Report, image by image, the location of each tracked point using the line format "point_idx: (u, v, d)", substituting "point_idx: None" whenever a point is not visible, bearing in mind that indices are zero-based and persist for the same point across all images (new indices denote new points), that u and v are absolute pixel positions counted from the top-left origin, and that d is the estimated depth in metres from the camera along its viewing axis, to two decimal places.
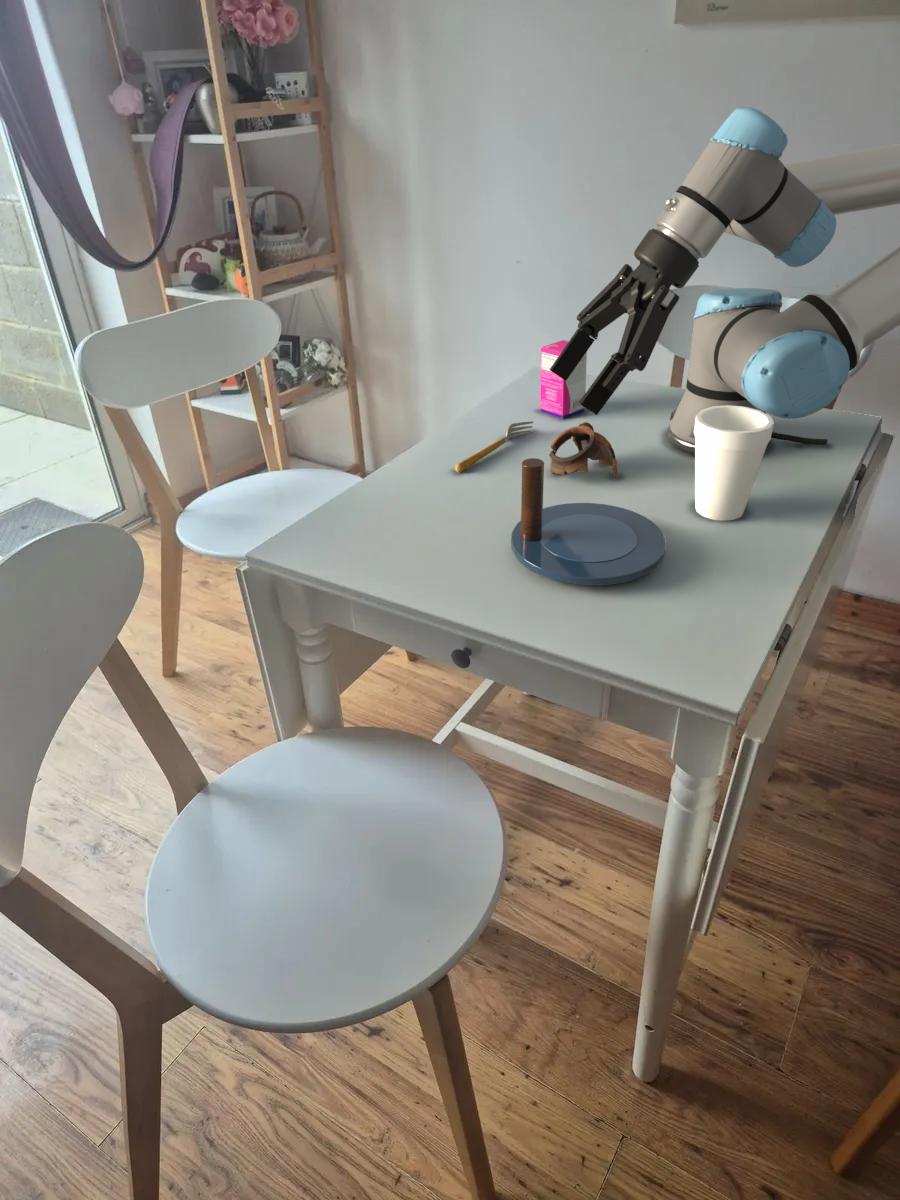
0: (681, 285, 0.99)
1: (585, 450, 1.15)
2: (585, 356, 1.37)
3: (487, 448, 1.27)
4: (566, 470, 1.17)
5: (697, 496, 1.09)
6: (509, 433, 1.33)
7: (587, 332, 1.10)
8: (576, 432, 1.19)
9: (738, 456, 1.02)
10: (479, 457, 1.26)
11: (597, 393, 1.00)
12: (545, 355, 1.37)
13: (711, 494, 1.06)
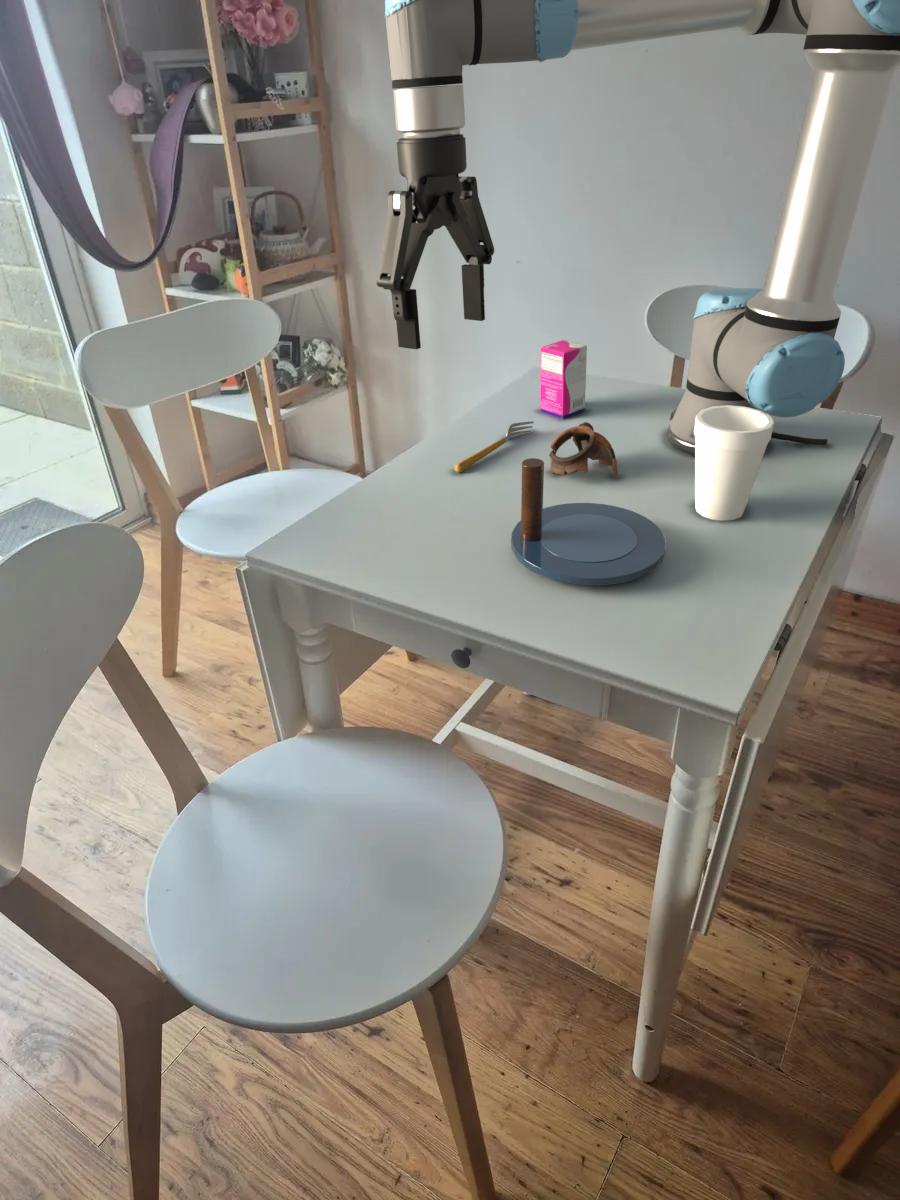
0: (435, 173, 0.87)
1: (585, 450, 1.15)
2: (585, 356, 1.37)
3: (487, 448, 1.27)
4: (566, 470, 1.17)
5: (697, 496, 1.09)
6: (509, 433, 1.33)
7: (474, 262, 1.01)
8: (576, 432, 1.19)
9: (738, 456, 1.02)
10: (479, 457, 1.26)
11: (403, 328, 0.94)
12: (545, 355, 1.37)
13: (711, 494, 1.06)
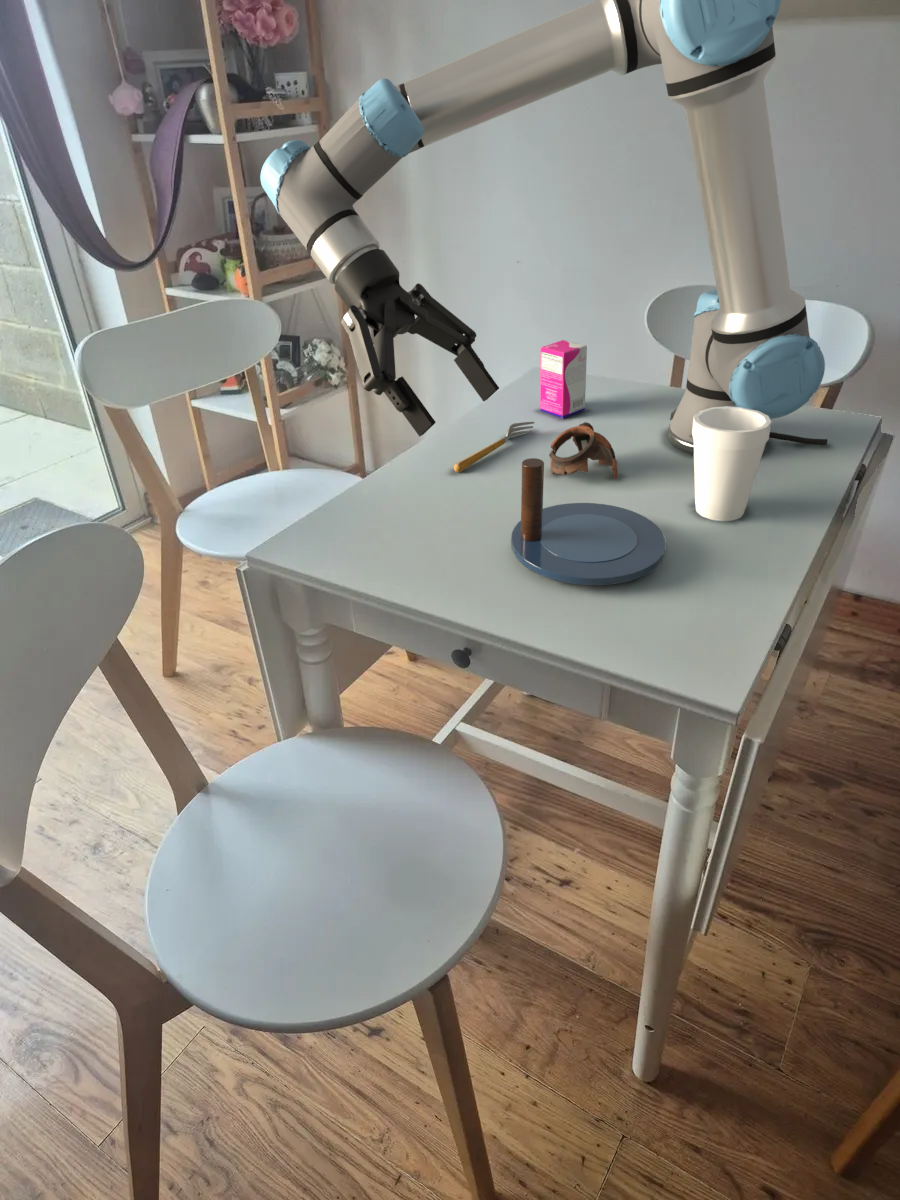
0: (369, 282, 0.94)
1: (585, 450, 1.15)
2: (585, 356, 1.37)
3: (487, 448, 1.27)
4: (566, 470, 1.17)
5: (696, 497, 1.09)
6: (510, 433, 1.33)
7: (462, 350, 1.03)
8: (576, 432, 1.19)
9: (735, 456, 1.02)
10: (478, 457, 1.26)
11: (412, 416, 0.94)
12: (545, 355, 1.37)
13: (710, 495, 1.07)
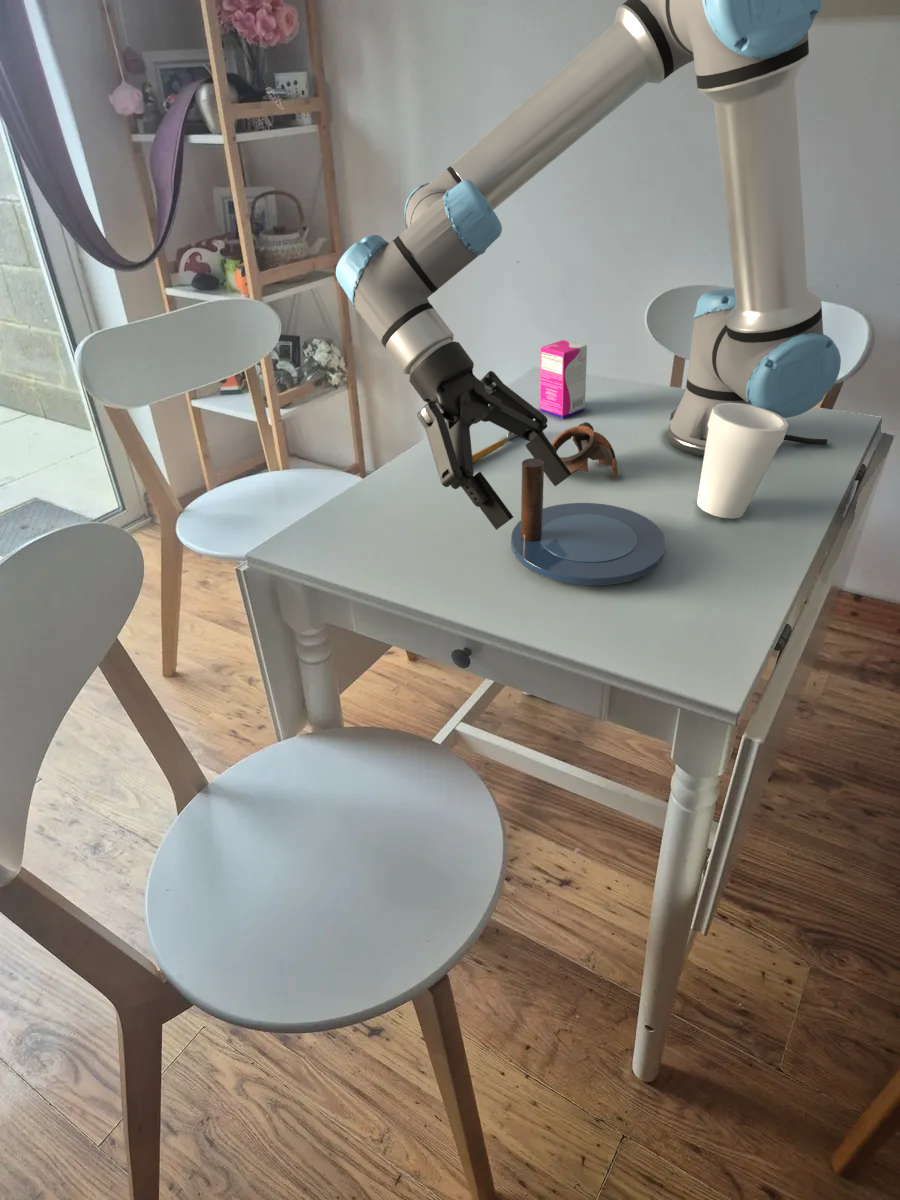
0: (446, 377, 0.94)
1: (585, 450, 1.15)
2: (585, 356, 1.37)
3: (486, 449, 1.27)
4: None
5: (701, 490, 1.09)
6: (510, 434, 1.33)
7: (534, 435, 1.03)
8: (576, 432, 1.19)
9: (749, 453, 1.01)
10: (478, 457, 1.26)
11: (490, 511, 0.94)
12: (545, 355, 1.37)
13: (716, 489, 1.06)
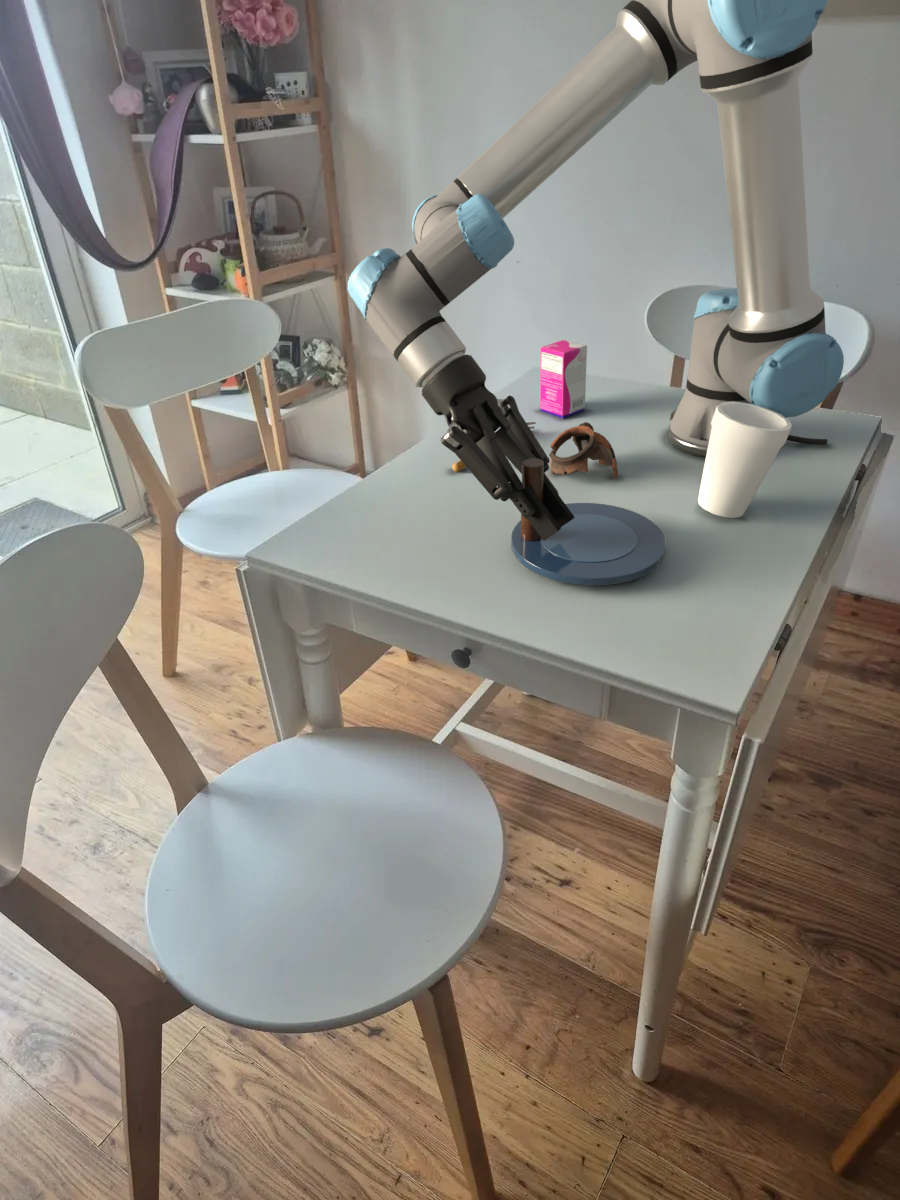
0: (459, 390, 0.94)
1: (585, 450, 1.15)
2: (585, 356, 1.37)
3: None
4: (566, 470, 1.17)
5: (702, 488, 1.08)
6: None
7: None
8: (576, 432, 1.19)
9: (752, 453, 1.01)
10: None
11: (538, 522, 0.97)
12: (545, 355, 1.37)
13: (717, 488, 1.06)
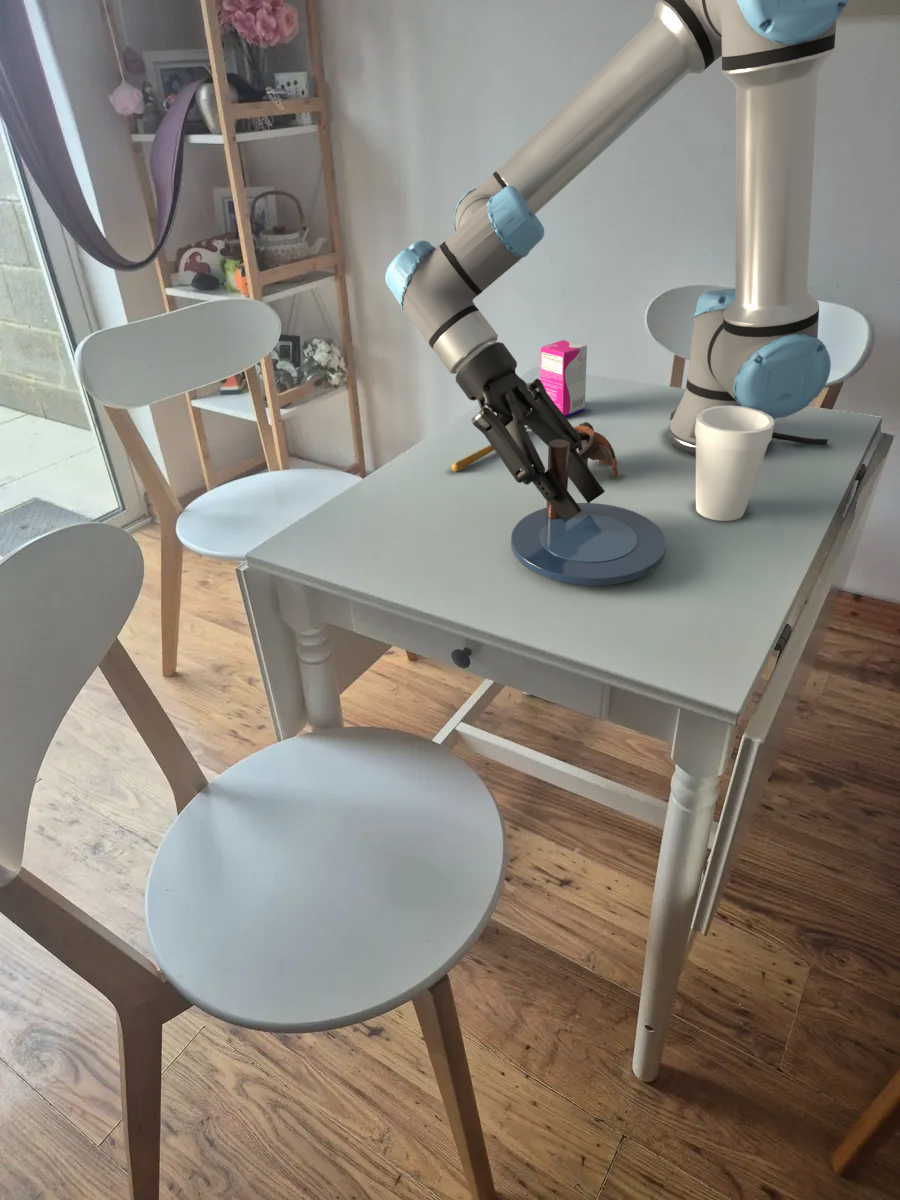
0: (492, 376, 0.99)
1: (585, 450, 1.15)
2: (585, 356, 1.37)
3: (486, 448, 1.27)
4: None
5: (697, 496, 1.09)
6: None
7: None
8: None
9: (737, 456, 1.02)
10: (477, 457, 1.26)
11: (559, 505, 1.01)
12: (545, 355, 1.37)
13: (710, 494, 1.06)
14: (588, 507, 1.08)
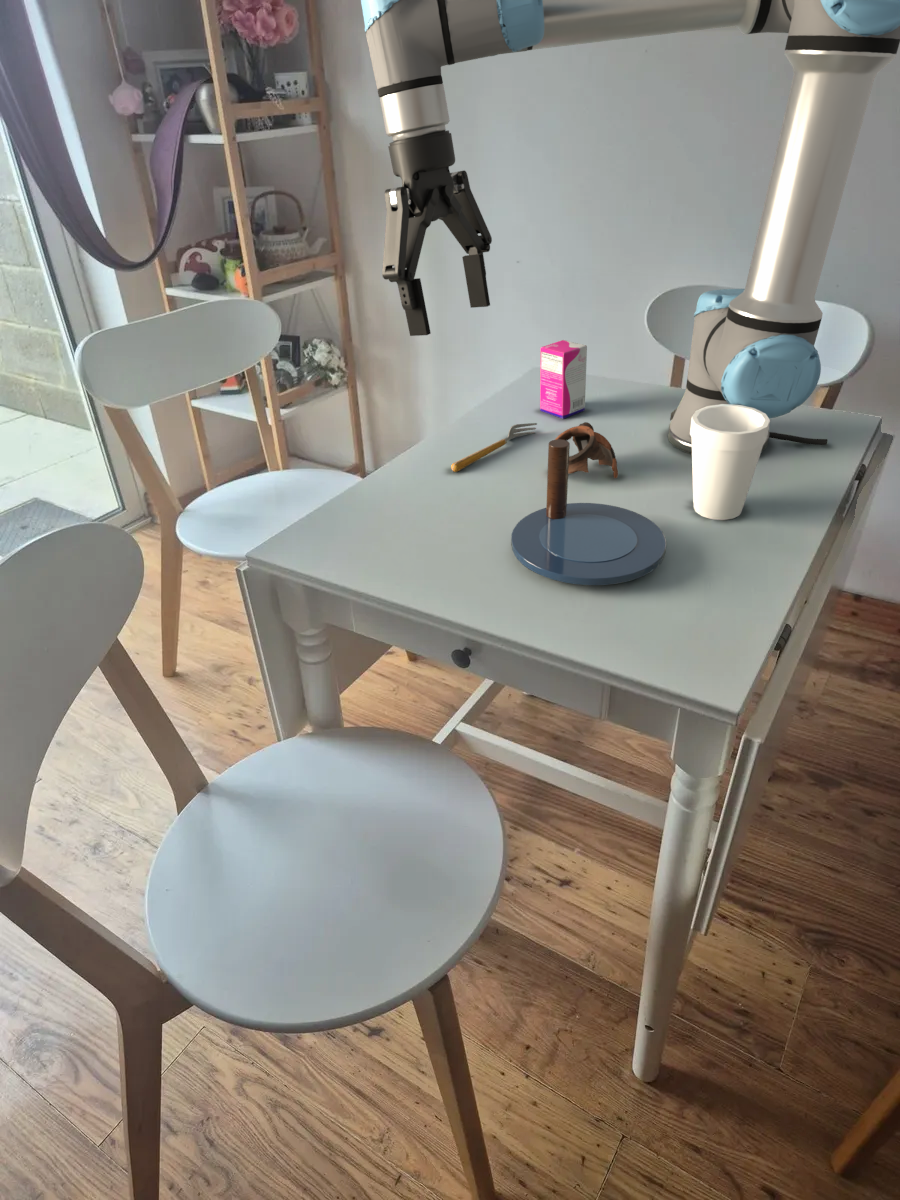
0: (426, 167, 0.93)
1: (585, 450, 1.15)
2: (585, 356, 1.37)
3: (486, 448, 1.27)
4: None
5: (696, 497, 1.09)
6: (511, 434, 1.33)
7: (474, 252, 1.06)
8: (576, 432, 1.19)
9: (737, 456, 1.02)
10: (477, 457, 1.26)
11: (412, 317, 1.00)
12: (545, 355, 1.37)
13: (710, 495, 1.06)
14: (588, 507, 1.08)
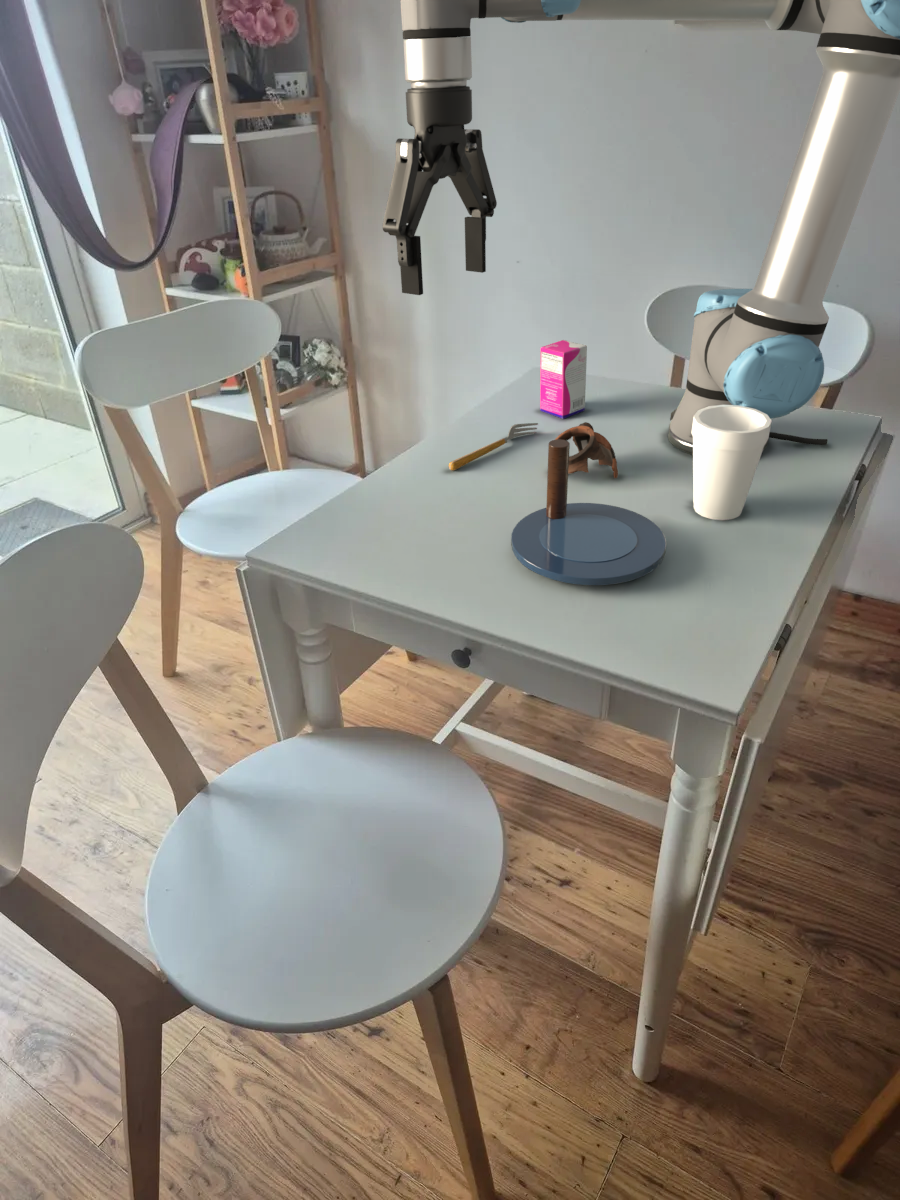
0: (442, 122, 0.91)
1: (585, 450, 1.15)
2: (585, 356, 1.37)
3: (485, 448, 1.27)
4: None
5: (696, 496, 1.09)
6: (512, 434, 1.33)
7: (477, 215, 1.05)
8: (576, 432, 1.19)
9: (739, 456, 1.02)
10: (475, 456, 1.26)
11: (407, 274, 0.98)
12: (545, 355, 1.37)
13: (711, 495, 1.06)
14: (588, 507, 1.08)
